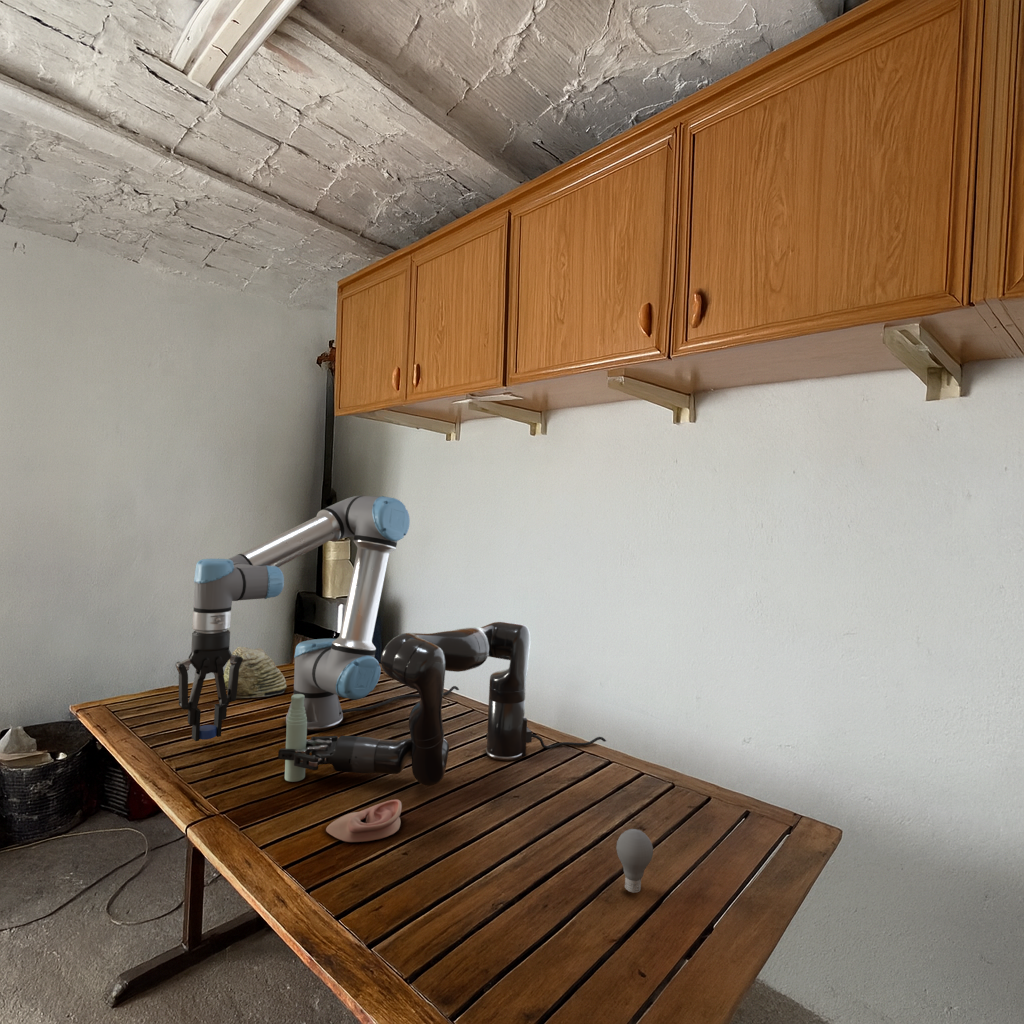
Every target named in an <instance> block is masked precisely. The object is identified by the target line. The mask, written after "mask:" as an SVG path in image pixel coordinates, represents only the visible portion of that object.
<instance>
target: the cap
mask: <svg viewBox="0 0 1024 1024" xmlns="http://www.w3.org/2000/svg"><path fill="white" fill-rule="evenodd" d="M216 735H217V727H216V726H215V725H214V724H204V725H200V735H199V740H211V739H214V738H216V737H217V736H216Z"/></svg>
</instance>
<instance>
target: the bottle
mask: <svg viewBox="0 0 1024 1024" xmlns="http://www.w3.org/2000/svg"><path fill="white" fill-rule="evenodd" d="M304 697H305V696H304V695H303V694H295V695H294V694H291V698H290V699H291V702H290V704H291V708H290V711H289V715H288V718H287V726H286V728H285V729H286V732H285V735H286V736H285V749H296V750H297V749H306V740H307V736H308V732H307V717H306V713H305V712H306V711H305V707H304ZM302 754H305V753H302ZM305 778H306V768H302V767H297V766H294V760H284V780H285V781H286V782H292V783H293V782H300V781H302V780H304V779H305Z"/></svg>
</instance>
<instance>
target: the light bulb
mask: <svg viewBox="0 0 1024 1024" xmlns="http://www.w3.org/2000/svg"><path fill="white" fill-rule="evenodd" d="M615 849H616V854H617V857H618V859H619V861H620V863H621V865H622V867H623V873H624V874H623V875H624V876H625V878H624V888H625V890H627V891H628V892H630V893H634V894H635V893H639V892H640V891H641V889H642V887H641V886H642V879H643V877H644V875H645V871H646V868H647V867H648V866H649V864H650V863H651V861H652V859H653V855H654V847H653V843H652V841H651V838H649V836H648V835H647V834H646V833H645V832H643V831H642V830H641V829H636V828H629V829H627V830H625V831H623V832H622V833H621V834H620V835H619V837H618V839H617V841H616V847H615Z"/></svg>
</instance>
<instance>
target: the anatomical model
mask: <svg viewBox="0 0 1024 1024" xmlns="http://www.w3.org/2000/svg"><path fill="white" fill-rule="evenodd" d="M402 808H403V804H402V802H401V800H399V799H391V800H387V801H383V802H380V803H377V804H374V805H372V806H370V807H367V808H365V809H362V810H360V811H353V812H350V813H347V814H344V815H342V816H340V817H338V818H337V819H335V820H333V821H332V822H330V823H329V825H327V826H326V828H325V832H326V833H327V834H329V835H330V836H332V837H333V838H335V839H338V840H340V841H342V842H345V843H360V842H361V843H363V842H371V841H375V840H381V839H384V838H387V837H389V836H392V835H394V834H395V833H397V832H398V831H399V829H400V827H401V824H402V823H401V817H400V816H401V813H402Z"/></svg>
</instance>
